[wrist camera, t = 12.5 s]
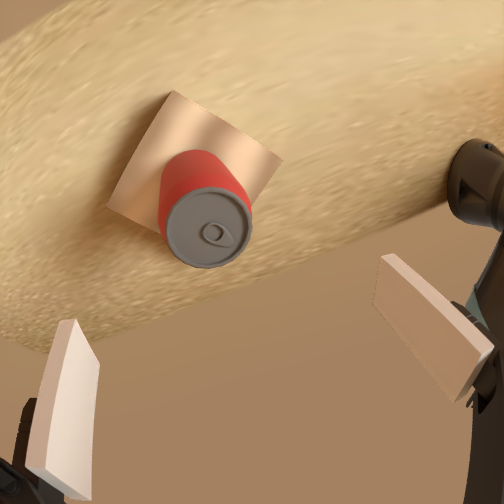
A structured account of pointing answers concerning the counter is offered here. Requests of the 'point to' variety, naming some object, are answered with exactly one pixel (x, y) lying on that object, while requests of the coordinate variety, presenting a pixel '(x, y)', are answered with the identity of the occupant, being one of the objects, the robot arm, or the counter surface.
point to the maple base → (183, 139)
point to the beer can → (203, 210)
